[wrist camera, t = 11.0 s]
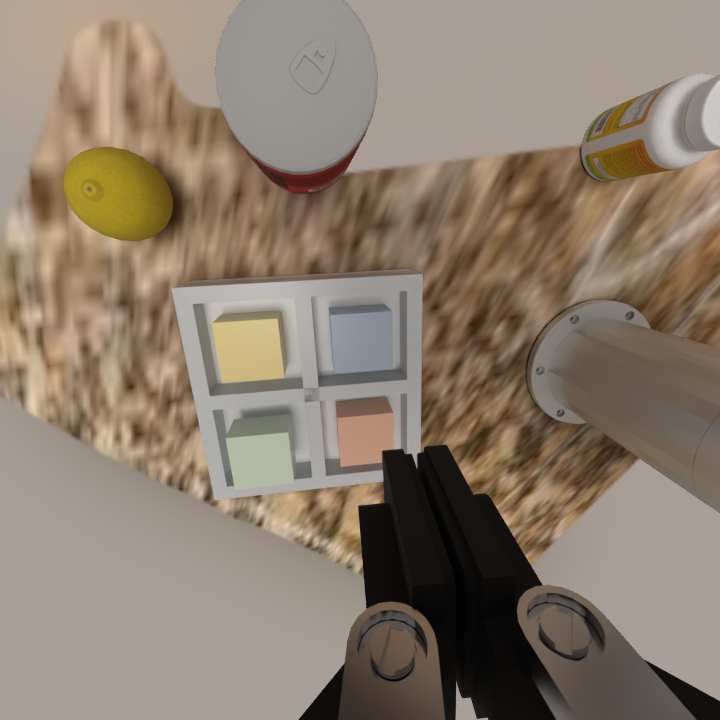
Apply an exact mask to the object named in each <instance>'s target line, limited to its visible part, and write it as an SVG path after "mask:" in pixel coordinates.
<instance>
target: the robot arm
mask: <svg viewBox="0 0 720 720" xmlns="http://www.w3.org/2000/svg"><path fill="white" fill-rule="evenodd" d="M527 383H528V387H529V391H530V394H531V396H532V398H533V400H534V402H535V403H536V404H537V405H538V406H539V408H540V409H542V410H543V411H544V412H545V413H547V414H548V415H549V416H551V417H552V418H554V419H556V420H558V421H562V422H565V423H571V424H584V423H589V424H590V425H592V426H593V427H595V428H596V429H597V430H599V431H600V432H602V433H603V434H605V435H606V436H608V437H609V438H611V439H612V440H614V441H615V442H616V443H618V444H619V445H621V446H622V447H624V448H625V449H627V450H628V451H630V452H631V453H632V454H634V455H635V456H637V457H638V458H640V459H641V460H643V461H644V462H646V463H647V464H649V465H650V466H651V467H653V468H654V469H656V470H657V471H659V472H660V473H662V474H663V475H665V476H666V477H668V478H669V479H671V480H672V481H673V482H675V483H676V484H678V485H679V486H681V487H682V488H684V489H685V490H687V491H688V492H690V493H691V494H692V495H694V496H695V497H697V498H698V499H700V500H701V501H703V502H704V503H706V504H707V505H709V506H710V507H712V508H713V509H715V510H716V511H718V512H719V513H720V348H718V347H714V346H710V345H707V344H703V343H700V342H696V341H692V340H689V339H685V338H682V337H678V336H674V335H671V334H667V333H664V332H660V331H657V330H653V329H651V327H650V325H649V323H648V322H647V320H646V318H645V317H644V316H643V315H642V314H641V313H640V312H639V311H638V310H637V309H635V308H633V307H631V306H630V305H628V304H625V303H621V302H617V301H612V300H605V299H602V300H591V301H587V302H583V303H580V304H578V305H575V306H573V307H571V308H569V309H567V310H566V311H564V312H563V313H561V314H560V315H558V316H557V317H556V318H555V319H554V320H553V321H552V322H551V323H550V324H548V325H547V327H546V328H545V329H544V330H543V332H542V333H541V334H540V336H539V337H538V339H537V341H536V343H535V344H534V346H533V348H532V351H531V354H530V357H529V361H528V367H527ZM382 465H383V482H384V500H385V503H382V504H371V505H361V506H358V509H359V521H360V534H361V546H362V558H363V571H364V583H365V595H366V608H367V609H366V610H365V611H364V612H363V613H362V614H360V615H359V616H358V618H357V619H356V621H355V622H354V624H353V626H352V627H351V630H350V633H349V637H348V641H347V649H346V657H345V663H344V665H343V666H342V667H341V669H340V670H339V671H338V672H337V673H336V674H335V676H334V677H333V679H331V681H330V682H329V683H328V684H327V685H326V687H325V688H324V689H323V690H322V692H321V693H320V694H319V695H318V697H317V698H316V699H315V700H314V701H313V703H312V704H311V705H310V706H309V708H308V709H307V710H306V711H305V712H304V714H303V715H302V716H301V717H300V719H299V720H455V718H456V717H455V715H456V681H457V685H458V688H459V692H460V694H461V697H462V698H470V697H471V700H472V703H473V707H474V710H475V714H476V717H477V719H479V718H487V717H488V720H720V701H718V700H717V699H715V698H713V697H711V696H709V695H707V694H706V693H704V692H702V691H700V690H698V689H697V688H695V687H693V686H691V685H689V684H688V683H686V682H684V681H682V680H680V679H678V678H677V677H675V676H673V675H671V674H669V673H667V672H666V671H664V670H662V669H660V668H658V667H657V666H655V665H653V664H651V663H649V662H647V661H646V660H644V659H643V658H642V657H641V656H640V655H639V654H638V653H637V652H636V650H634V648H633V647H632V646H631V645H630V644H629V643H628V641H627V640H626V639H625V638H624V637H623V636H622V635H621V633H620V632H619V631H618V630H617V629H616V628H615V627H614V626H613V624H612V623H611V622H610V621H609V620H608V619H607V618H606V616H605V615H604V614H603V613H602V612H601V611H599V609H597V608H596V607H595V606H594V605H593V604H592V603H591V602H590V601H588V600H587V599H585V598H583V597H582V596H580V595H579V594H577V593H575V592H573V591H570V590H568V589H565V588H563V587H557V586H551V585H542V583H541V582H540V580H539V579H538V577H537V575H536V573H535V572H534V570H533V569H532V567H531V565H530V563H529V562H528V560H527V558H526V557H525V555H524V553H523V552H522V550H521V548H520V547H519V545H518V543H517V542H516V540H515V538H514V537H513V535H512V533H511V532H510V530H509V528H508V527H507V525H506V523H505V522H504V520H503V518H502V516H501V515H500V513H499V511H498V510H497V508H496V506H495V505H494V503H493V501H492V500H491V498H490V497H489V496H488V495H487V494H475V495H473V493H472V491H471V489H470V488H469V486H468V484H467V482H466V480H465V478H464V476H463V475H462V473H461V471H460V469H459V467H458V465H457V463H456V462H455V460H454V458H453V456H452V454H451V452H450V450H449V449H448V447H447V445H437V446H426V447H424V452H422V453H417V467H416V464H415V461H414V458H413V455H412V454H405V453H404V450H403V449H393V450H382Z"/></svg>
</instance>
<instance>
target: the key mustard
mask: <svg viewBox="0 0 720 720" xmlns="http://www.w3.org/2000/svg"><path fill="white" fill-rule="evenodd" d="M212 327H213V333H214V339H215V345H216V350H217V356H218V362H219V367H220V373H221V379H222V383H228V382H240V381H252V380H265V379H277V378H284V377H285V373H286V368H287V360H286V351H285V342H284V333H283V324H282V315H281V311H267V312H251V313H235V314H221V315H220V316H219V317H218V318H217V319H216V320H214V321H213V322H212Z"/></svg>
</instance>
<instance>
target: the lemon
mask: <svg viewBox="0 0 720 720" xmlns="http://www.w3.org/2000/svg"><path fill="white" fill-rule="evenodd" d="M63 188H64V192H65V196H66V199H67V201H68V203H69V205H70V207H71V209H72V210H73V211H74V213H75V214H76V215H77V216H78V218H79V219H80V220H82V221H83V222H84V223H85V224H86V225H88V226H89V227H90V228H92V229H94V230H96V231H97V232H99V233H101V234H103V235H105V236H108V237H112V238H115V239H119V240H127V241H138V240H143V239H147V238H150V237H152V236H154V235H156V234H158V233H160V232H161V231H162V230H163V229H164V228H165V227H166V226H167V224H168V222H169V220H170V218H171V215H172V210H173V198H172V195H171V191H170V188H169V186H168V184H167V182H166V181H165V179H164V177H163V176H162V175H161V174H160V172H159V171H158V170H157V169H156V168H155V167H154V166H153V165H152V164H150V163H149V162H148V161H146V160H145V159H144V158H142V157H140V156H138V155H136V154H134V153H132V152H130V151H127V150H123V149H118V148H113V147H101V148H92V149H89V150H86V151H84V152H81V153H80V154H78V155H77V156H76V157H74V158H73V159H72V160H71V161H70V163H69V164H68V166H67V167H66V171H65V174H64V184H63Z"/></svg>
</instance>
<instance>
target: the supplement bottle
mask: <svg viewBox="0 0 720 720" xmlns="http://www.w3.org/2000/svg"><path fill="white" fill-rule="evenodd" d="M718 149H720V75H718V76H716V77H715V76H713V75H710V74H704V73H698V74H692V75H689V76H686V77H683V78H680V79H678V80H676V81H673V82H671V83H669V84H666V85H664V86H662V87H660V88H657V89H655V90H653V91H650V92H648V93H645V94H643V95H641V96H638V97H636V98H634V99H631V100H629V101H627V102H625V103H622V104H620V105H617V106H615V107H613V108H611V109H609V110H607V111H605V112H603V113H602V114H600V115H599V116H598V117H597V118H596V119H595V120H594V121H593V122H592V123H591V125H590V126H589V128H588V129H587V131H586V133H585V135H584V138H583V141H582V147H581V156H582V162H583V165H584V167H585V169H586V171H587V172H588V173H589V174H590V175H591V176H592V177H593V178H595V179H597V180H601V181H614V180H620V179H625V178H630V177H636V176H641V175H647V174H653V173H658V172H664V171H669V170H674V169H679V168H683V167H686V166H689V165H692V164H694V163H696V162H698V161H699V160H701V159H703V158H704V157H705V156H707V155H708V154H709V153H710V152H711V151H713V150H718Z"/></svg>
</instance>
